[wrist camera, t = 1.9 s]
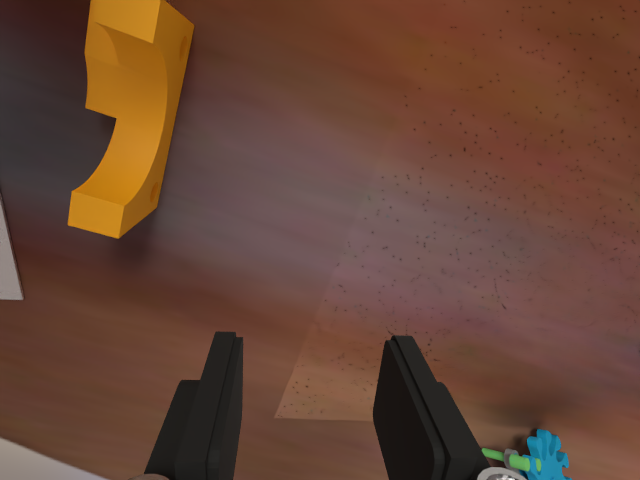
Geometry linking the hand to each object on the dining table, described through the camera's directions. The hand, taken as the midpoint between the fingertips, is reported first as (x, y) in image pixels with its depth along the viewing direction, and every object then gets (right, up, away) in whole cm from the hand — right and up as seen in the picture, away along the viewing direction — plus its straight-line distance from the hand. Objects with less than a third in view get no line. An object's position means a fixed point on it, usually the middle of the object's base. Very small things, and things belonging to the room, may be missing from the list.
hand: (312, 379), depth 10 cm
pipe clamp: (-11, +12, +13) cm, 21 cm away
